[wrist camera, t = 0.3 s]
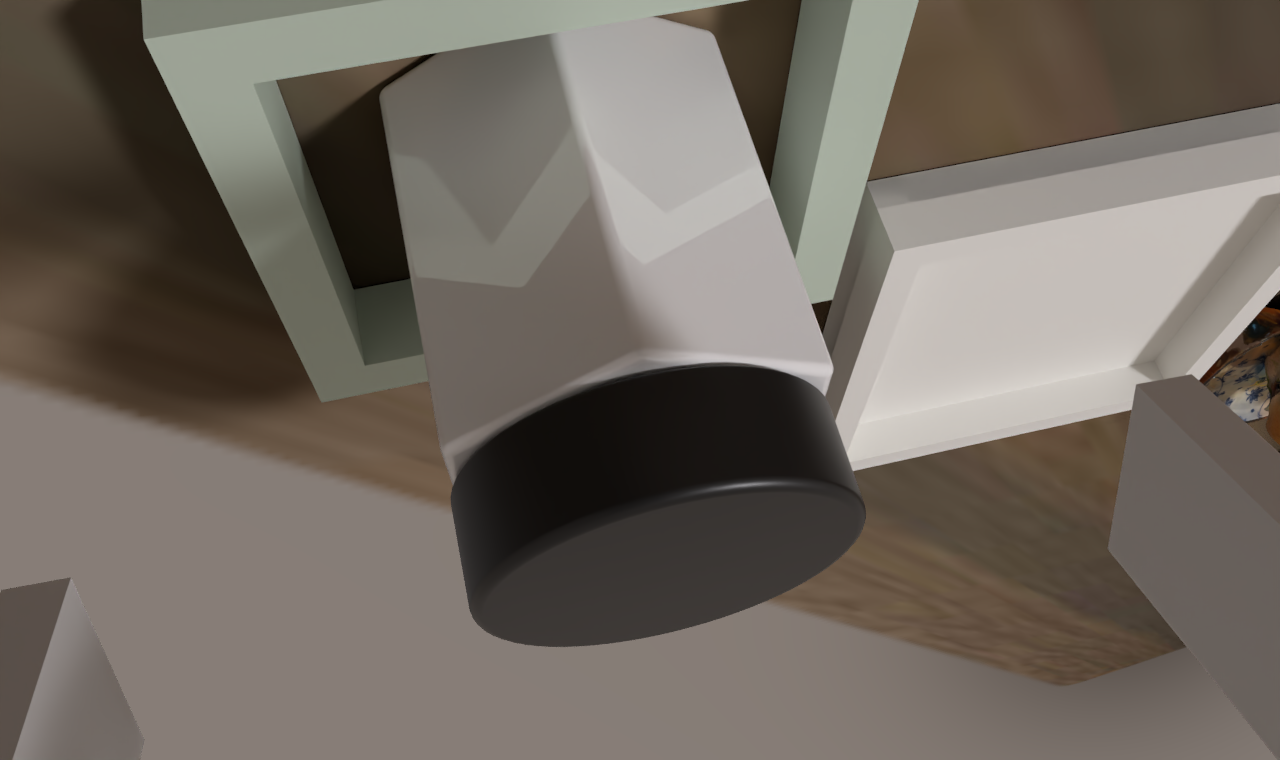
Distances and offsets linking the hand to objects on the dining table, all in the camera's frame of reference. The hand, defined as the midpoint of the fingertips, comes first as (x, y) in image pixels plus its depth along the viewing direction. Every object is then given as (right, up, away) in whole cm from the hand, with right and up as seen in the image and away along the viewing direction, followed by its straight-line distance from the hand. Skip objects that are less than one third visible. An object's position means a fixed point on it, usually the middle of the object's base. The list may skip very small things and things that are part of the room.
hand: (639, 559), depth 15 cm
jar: (-2, +9, +14) cm, 17 cm away
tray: (+14, +6, +28) cm, 32 cm away
